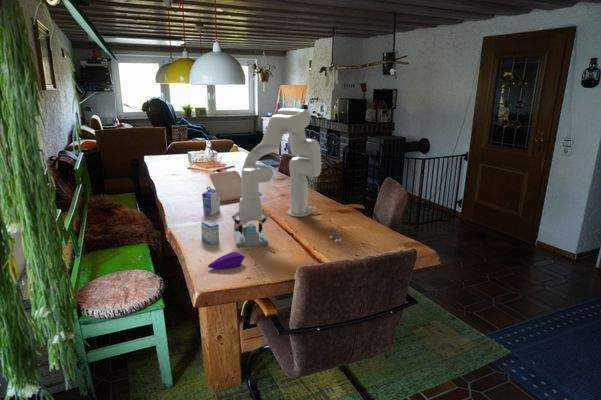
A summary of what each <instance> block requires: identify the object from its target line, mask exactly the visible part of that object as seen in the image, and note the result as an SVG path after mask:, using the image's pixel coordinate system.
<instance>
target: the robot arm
mask: <svg viewBox="0 0 601 400" xmlns="http://www.w3.org/2000/svg"><path fill="white" fill-rule="evenodd" d="M311 116H312V115H311V112H310V111H309V110H308V109H305V108H294V107H290V108H289V107H281V108H280V109H278V110H277V112H276V114H274V115H271V117H270V118H269V121H268V123H267V125H266V129H265V131H264V134H263V137H262V140H261V142H260V143H258V144H257V145H256V146H255V147H253V149H252V150H251V151H250V152H249V153H247V154H248V155H247V156H246V158H245V160H244V163H243V166H242V169H241V175H240V176H241V178H242V198H240V201H238V211H237V212H236V213H234V214H233V215H231V219H232V220H233V221H234V223H235V222H236V223H237V224H238V225H239V232H240V233H241V234H242V223H243V221H253V222H255V221H258V230H259V233H261V231H262V230H263V225H264V223H266V221H267V219H268V218H269V217H270V216H269V214H268V213H267V212H265V211H263V209H262V208H263V207H262V201H261V196H263V192H260V185H259V184H263V183H265V184H266V183H268V182H270V181H271V180H272V179H273V176H274V170H273V169H272V168H271V167H270V166H269V165H268V166H267V165H263V164H257V162H258V160H259V159H260V158H262V157H263V156H266V155H269V154H272V153H273V152H274V153H275V152H276V151H278V150H279V148H280V147H281V143H282V140H283V137H284V135H285V134H288V141H289V150H290V153H291V154H292V155H294V157H292V158H291V159H290V160H289V161H288V162H289V163H288V170H289V174H290V177H289V178H290V191H289V192H290V193H289V194H290V195H289V196H290V197H289V198H290V199H289V200H290V201H289V209H287V212H286V213H287V215H289V216H290V217H297V218H300V217H301V218H302V217H308V216H309V215H310V214H311V211H316V209H317V207H316V206H312V205H308V198H309V197H308V196H309V195H308V194H309V182H308V178H307V177H312V178H317V177H318V176H320V175H321V172H322V157H321V156H322V155H321V145H320V142H319V141H318V140H317V139H314V138H307V137H306V131H305V128H307V127H308V126H309V124H310V122H311V118H312V117H311ZM263 216H264V217H263ZM237 218H239V219H240V220H239V219H237ZM238 220H239V221H238Z"/></svg>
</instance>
